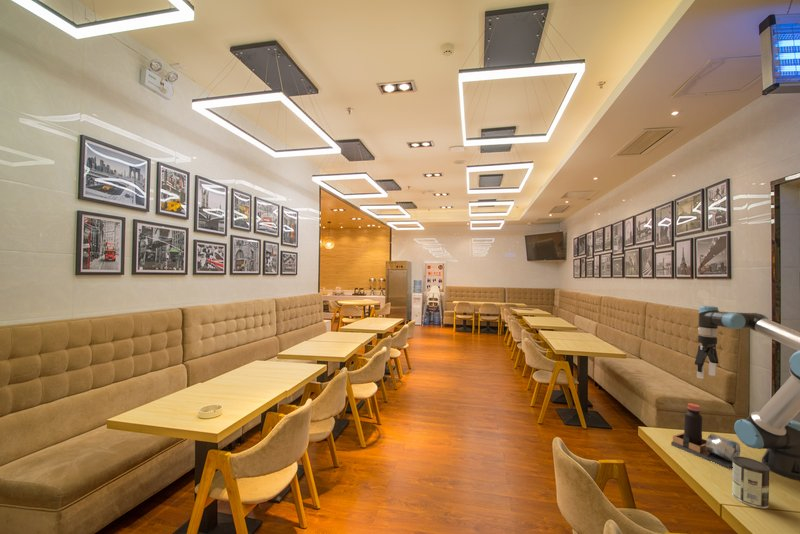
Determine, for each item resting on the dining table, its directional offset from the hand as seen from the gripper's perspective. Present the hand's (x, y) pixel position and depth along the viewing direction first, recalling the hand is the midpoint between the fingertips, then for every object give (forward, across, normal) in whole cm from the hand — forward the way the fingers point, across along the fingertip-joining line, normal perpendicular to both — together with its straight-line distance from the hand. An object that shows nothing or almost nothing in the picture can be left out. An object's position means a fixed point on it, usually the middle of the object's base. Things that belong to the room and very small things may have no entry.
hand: (706, 376), depth 183 cm
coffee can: (+34, +43, +30) cm, 63 cm away
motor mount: (+34, +14, +6) cm, 37 cm away
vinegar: (+33, +14, 0) cm, 35 cm away
